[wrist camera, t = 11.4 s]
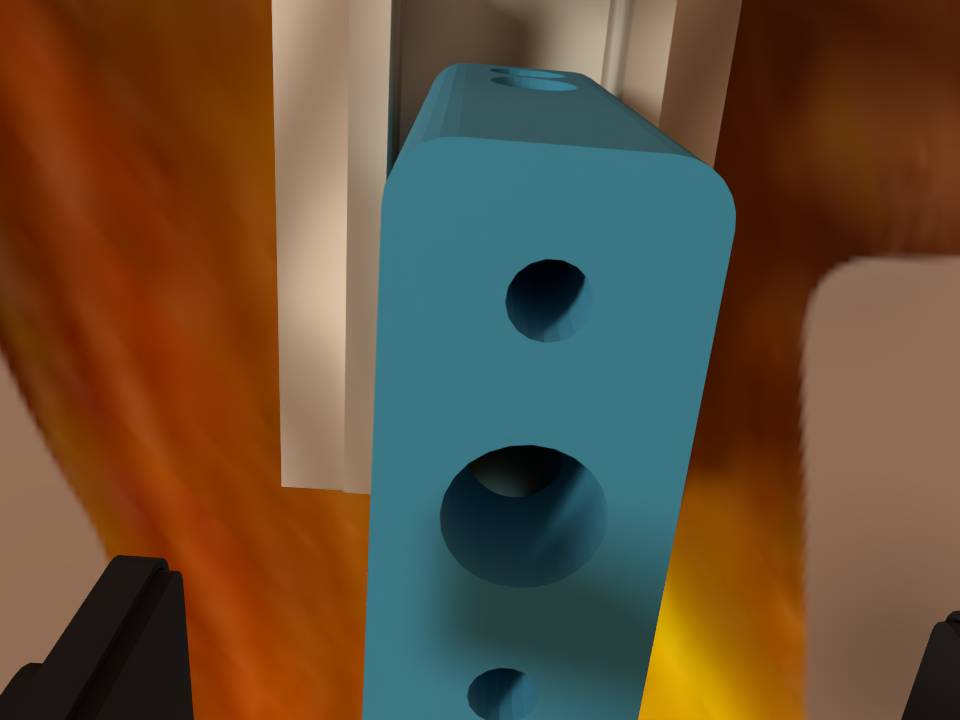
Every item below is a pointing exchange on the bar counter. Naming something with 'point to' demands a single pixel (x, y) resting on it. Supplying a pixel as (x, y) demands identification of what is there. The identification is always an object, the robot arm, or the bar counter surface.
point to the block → (533, 396)
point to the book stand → (380, 138)
